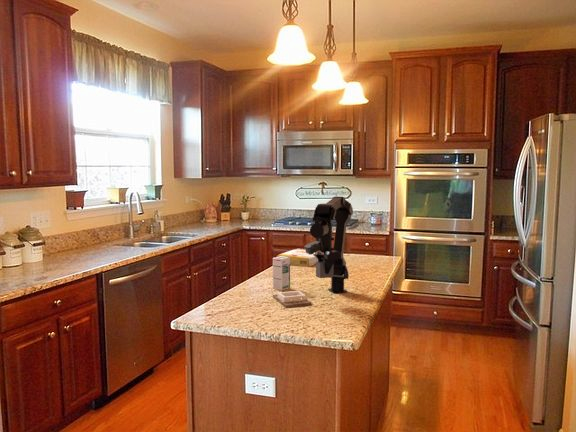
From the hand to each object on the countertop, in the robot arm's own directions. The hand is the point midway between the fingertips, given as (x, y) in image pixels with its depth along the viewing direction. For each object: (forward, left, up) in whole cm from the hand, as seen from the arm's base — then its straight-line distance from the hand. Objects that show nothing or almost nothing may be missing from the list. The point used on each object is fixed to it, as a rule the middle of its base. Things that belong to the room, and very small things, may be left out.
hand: (324, 272), depth 191 cm
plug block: (0, 0, -2) cm, 2 cm away
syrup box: (-26, -9, -12) cm, 31 cm away
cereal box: (-84, +24, -13) cm, 88 cm away
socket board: (-5, -12, -12) cm, 18 cm away
